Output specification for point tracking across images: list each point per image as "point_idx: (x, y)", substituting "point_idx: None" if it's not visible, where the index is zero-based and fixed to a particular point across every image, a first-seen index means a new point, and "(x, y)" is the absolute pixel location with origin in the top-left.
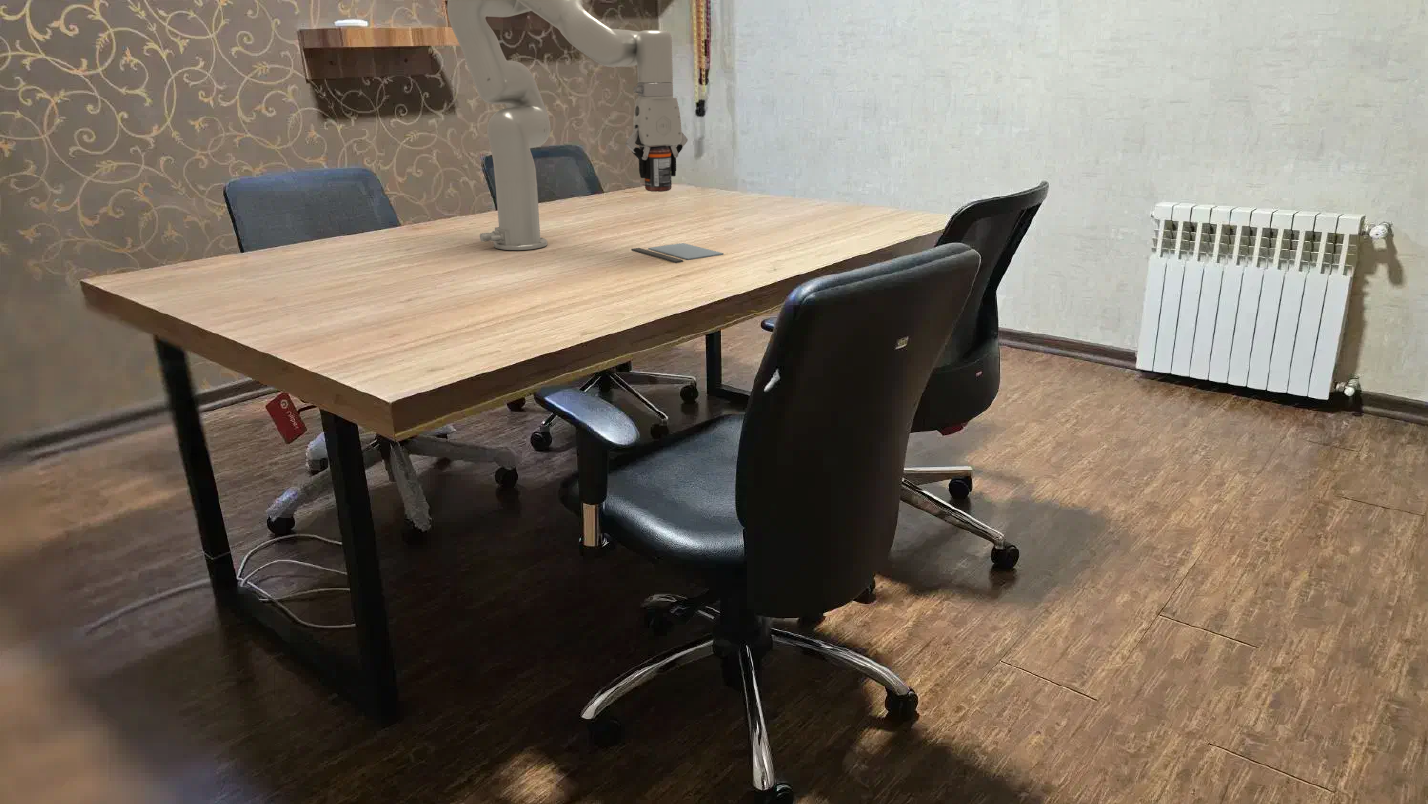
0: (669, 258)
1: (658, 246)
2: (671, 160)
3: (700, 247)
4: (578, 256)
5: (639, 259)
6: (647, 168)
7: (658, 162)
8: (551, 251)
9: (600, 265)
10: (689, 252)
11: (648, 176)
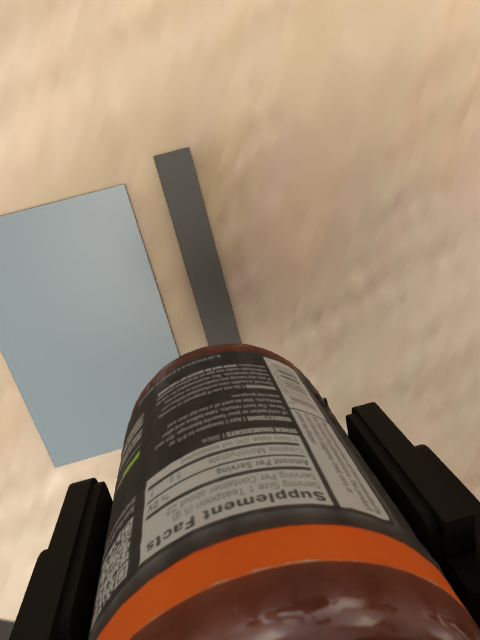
0: (194, 209)
1: None
2: (79, 624)
3: (11, 371)
4: (440, 387)
5: (287, 271)
6: (417, 450)
7: (320, 478)
8: (475, 478)
9: (440, 225)
10: (81, 296)
11: (370, 410)
